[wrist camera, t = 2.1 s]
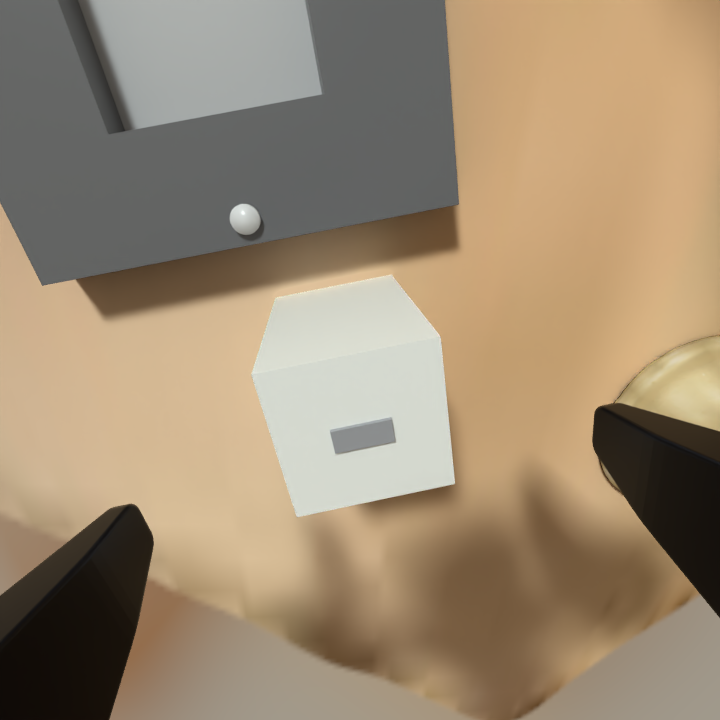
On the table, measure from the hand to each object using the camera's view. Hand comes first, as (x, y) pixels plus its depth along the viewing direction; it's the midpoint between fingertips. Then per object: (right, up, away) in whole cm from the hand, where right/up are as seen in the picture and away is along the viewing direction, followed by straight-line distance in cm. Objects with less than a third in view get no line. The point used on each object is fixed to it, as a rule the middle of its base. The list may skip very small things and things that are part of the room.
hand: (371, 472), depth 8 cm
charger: (-1, +3, +7) cm, 8 cm away
